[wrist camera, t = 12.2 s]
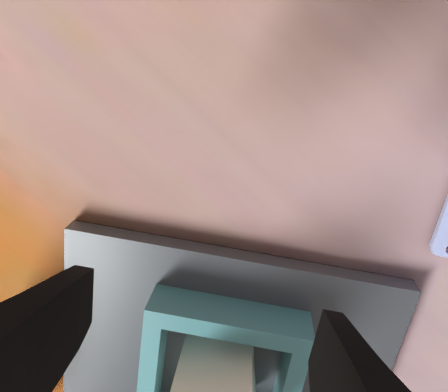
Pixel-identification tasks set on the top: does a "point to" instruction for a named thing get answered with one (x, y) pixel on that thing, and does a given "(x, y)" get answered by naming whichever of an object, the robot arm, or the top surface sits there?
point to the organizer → (216, 308)
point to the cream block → (214, 366)
